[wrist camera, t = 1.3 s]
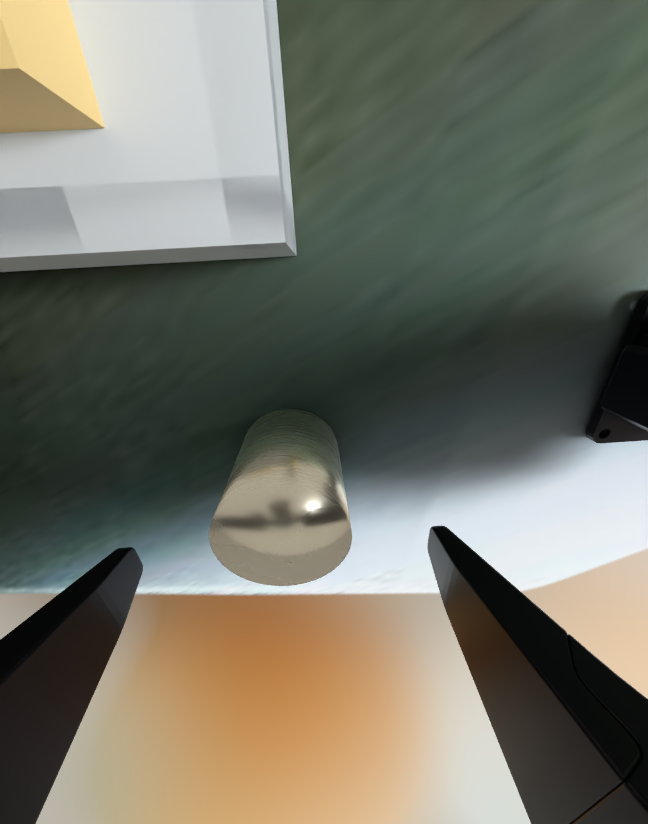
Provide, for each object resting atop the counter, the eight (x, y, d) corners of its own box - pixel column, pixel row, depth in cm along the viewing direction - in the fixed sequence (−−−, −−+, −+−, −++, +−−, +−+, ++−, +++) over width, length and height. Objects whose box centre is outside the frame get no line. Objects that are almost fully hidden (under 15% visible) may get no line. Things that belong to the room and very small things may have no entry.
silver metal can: (336, 405, 12) (351, 480, 8) (339, 484, 14) (352, 580, 10) (235, 412, 12) (192, 491, 8) (251, 490, 14) (225, 590, 10)
